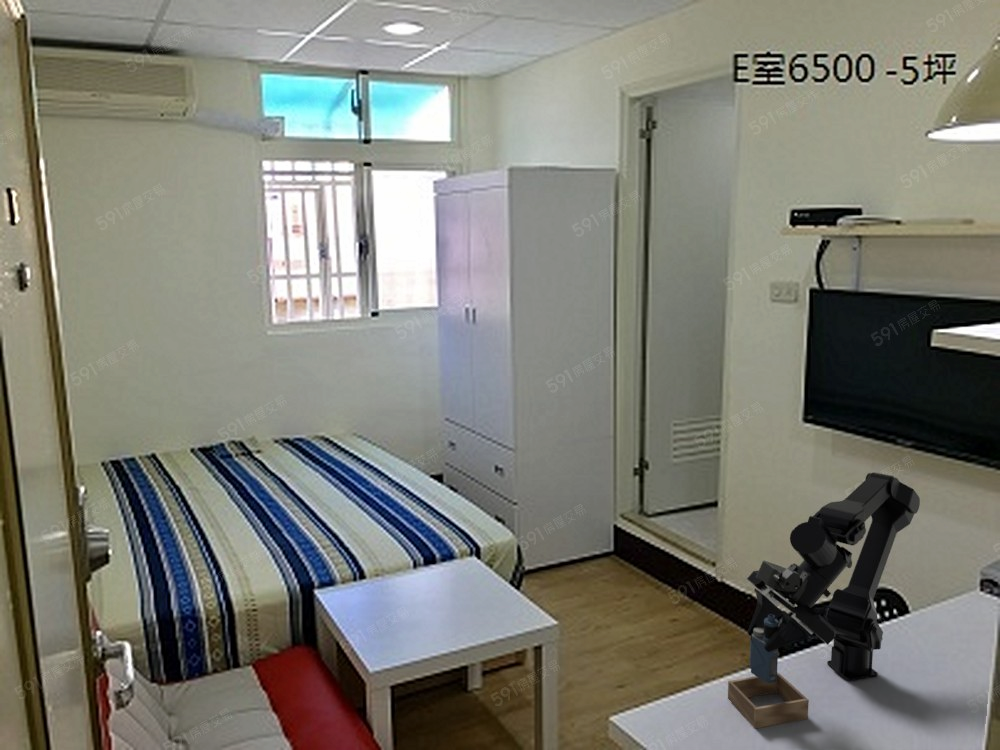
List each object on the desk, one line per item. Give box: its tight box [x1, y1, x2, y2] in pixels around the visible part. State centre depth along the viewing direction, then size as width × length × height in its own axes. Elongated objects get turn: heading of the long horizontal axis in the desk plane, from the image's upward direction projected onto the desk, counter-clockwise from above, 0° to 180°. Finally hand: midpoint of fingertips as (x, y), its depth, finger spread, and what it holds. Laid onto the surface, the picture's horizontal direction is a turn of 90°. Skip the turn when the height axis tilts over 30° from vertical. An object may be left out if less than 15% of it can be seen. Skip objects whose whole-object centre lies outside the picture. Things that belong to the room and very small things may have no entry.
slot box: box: [727, 672, 810, 729], centre depth 137 cm, size 10×9×4 cm
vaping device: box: [749, 614, 780, 683], centre depth 135 cm, size 3×5×12 cm, turn 27°
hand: (757, 642), depth 135 cm, fingers closed on vaping device, 5 cm apart
